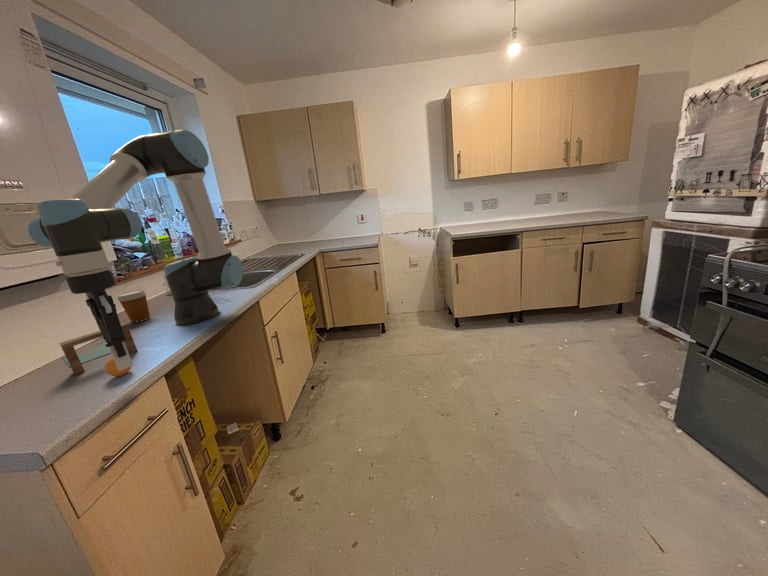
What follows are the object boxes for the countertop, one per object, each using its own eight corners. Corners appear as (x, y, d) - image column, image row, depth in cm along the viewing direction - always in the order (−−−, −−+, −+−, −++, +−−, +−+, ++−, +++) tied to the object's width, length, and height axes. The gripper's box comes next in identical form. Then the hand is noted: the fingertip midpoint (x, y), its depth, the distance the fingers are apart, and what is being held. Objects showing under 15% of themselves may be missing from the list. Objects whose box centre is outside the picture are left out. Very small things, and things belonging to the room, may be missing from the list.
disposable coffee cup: (139, 324, 124) (128, 295, 120) (120, 325, 126) (109, 297, 122) (160, 315, 132) (150, 288, 129) (142, 316, 135) (132, 289, 131)
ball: (131, 367, 86) (124, 349, 84) (138, 371, 83) (130, 353, 81) (106, 377, 82) (98, 358, 80) (112, 382, 79) (104, 363, 77)
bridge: (73, 372, 87) (59, 343, 85) (134, 349, 98) (124, 322, 96) (75, 375, 86) (61, 345, 83) (137, 351, 96) (127, 324, 94)
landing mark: (116, 339, 110) (116, 338, 110) (128, 346, 101) (128, 346, 101) (62, 357, 99) (62, 357, 99) (70, 367, 91) (70, 367, 91)
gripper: (60, 275, 69) (99, 369, 76) (70, 278, 61) (113, 382, 68) (102, 267, 75) (135, 355, 81) (117, 269, 67) (153, 366, 73)
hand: (125, 367), depth 75 cm, fingers closed
